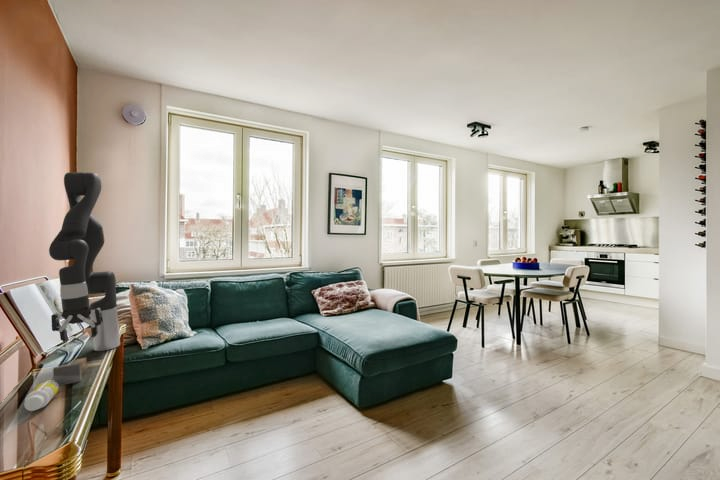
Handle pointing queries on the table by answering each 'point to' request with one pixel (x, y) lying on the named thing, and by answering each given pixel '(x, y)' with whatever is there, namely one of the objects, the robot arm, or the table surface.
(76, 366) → the grey brown rectangular block
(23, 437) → the table surface
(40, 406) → the supplement bottle
